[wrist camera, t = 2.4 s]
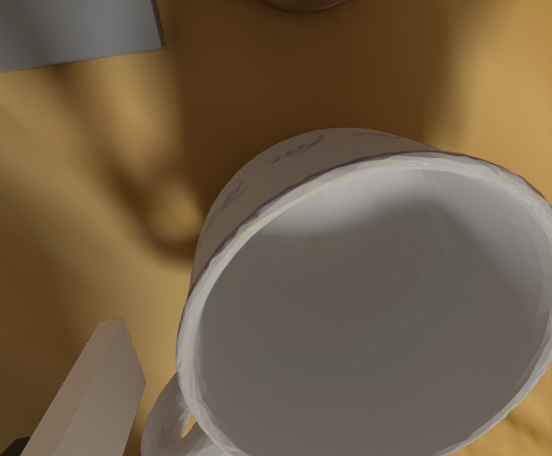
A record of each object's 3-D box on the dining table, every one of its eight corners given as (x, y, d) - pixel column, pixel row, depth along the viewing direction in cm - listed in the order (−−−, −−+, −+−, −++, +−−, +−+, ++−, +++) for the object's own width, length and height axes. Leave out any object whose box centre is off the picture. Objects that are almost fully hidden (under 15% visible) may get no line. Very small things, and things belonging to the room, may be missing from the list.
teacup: (394, 66, 14) (567, 53, 7) (459, 279, 18) (609, 415, 11) (87, 221, 15) (-52, 355, 8) (214, 389, 19) (201, 579, 12)
